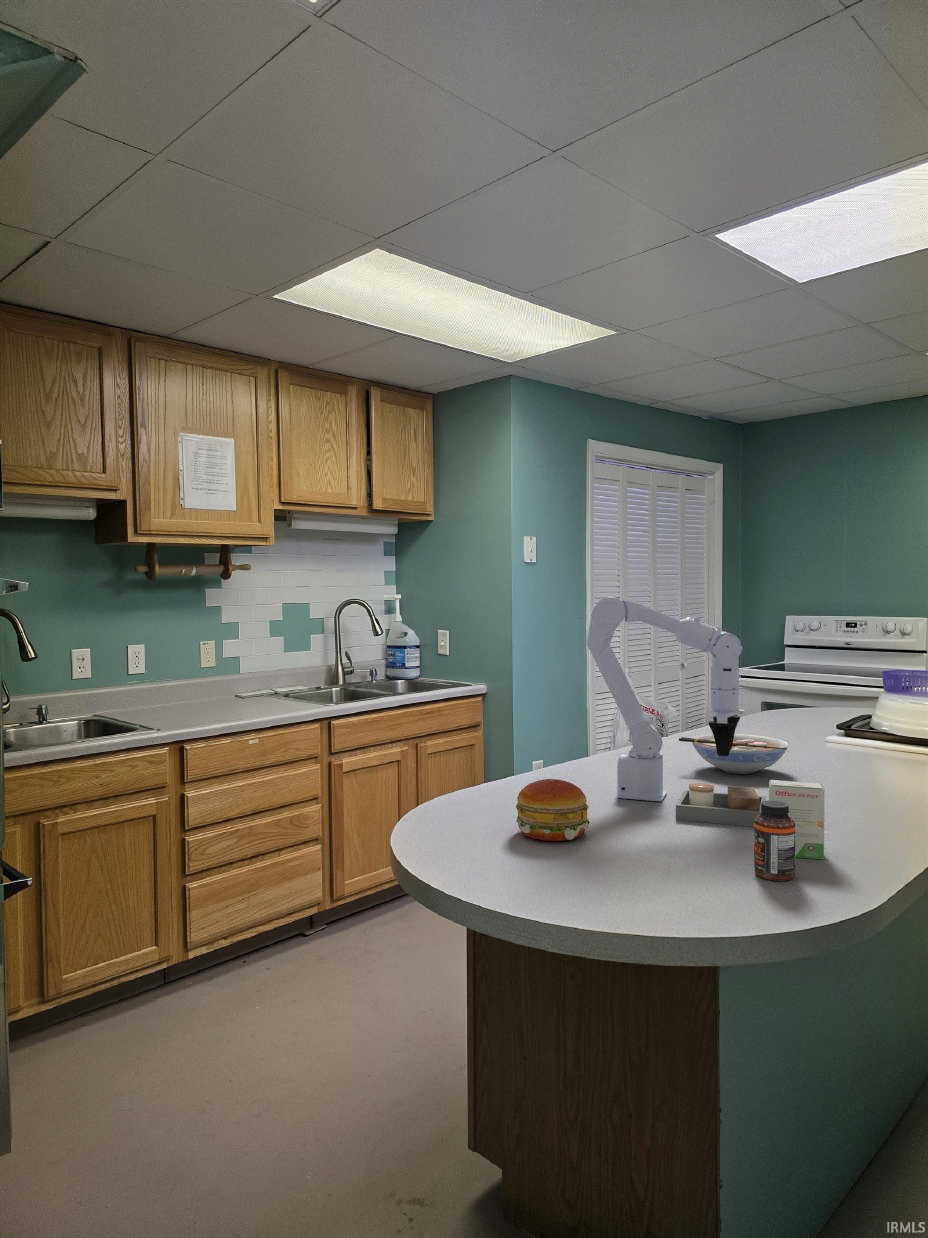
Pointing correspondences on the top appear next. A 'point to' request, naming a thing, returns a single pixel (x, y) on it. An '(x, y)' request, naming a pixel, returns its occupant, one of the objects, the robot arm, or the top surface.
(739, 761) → the ramen bowl
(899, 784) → the top surface
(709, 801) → the jar
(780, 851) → the supplement bottle
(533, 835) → the burger
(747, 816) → the tote
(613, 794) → the top surface
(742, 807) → the block
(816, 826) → the ink box
